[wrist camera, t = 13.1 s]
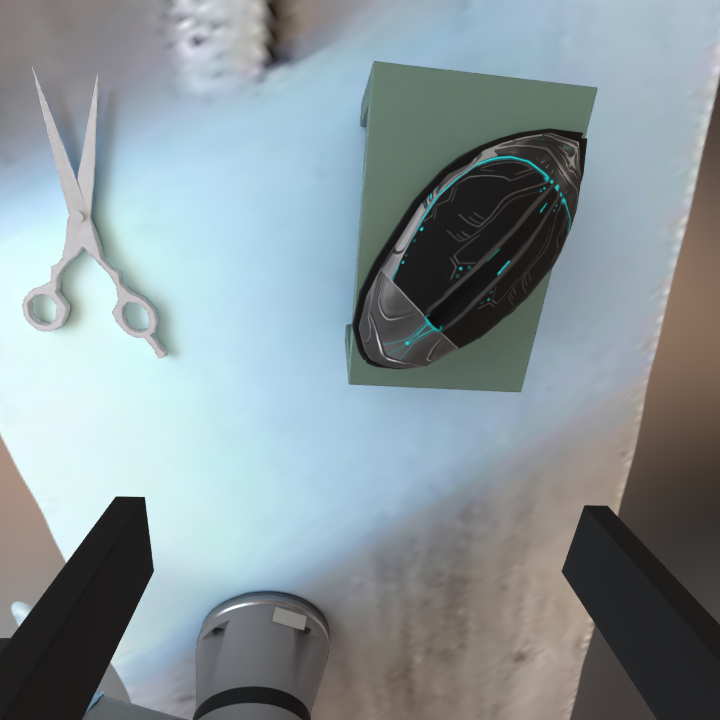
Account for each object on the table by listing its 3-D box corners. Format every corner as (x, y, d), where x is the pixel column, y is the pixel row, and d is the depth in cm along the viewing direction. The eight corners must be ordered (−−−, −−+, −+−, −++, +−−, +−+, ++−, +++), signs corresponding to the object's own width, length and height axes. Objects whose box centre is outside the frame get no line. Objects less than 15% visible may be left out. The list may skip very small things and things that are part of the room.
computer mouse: (618, 197, 23) (703, 195, 18) (407, 388, 27) (425, 435, 22) (531, 69, 21) (600, 24, 15) (311, 301, 24) (305, 330, 19)
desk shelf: (477, 348, 36) (521, 392, 28) (344, 341, 35) (348, 384, 27) (523, 119, 29) (598, 87, 21) (361, 102, 28) (373, 60, 20)
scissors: (29, 347, 33) (-29, 51, 25) (36, 344, 33) (-19, 56, 26) (164, 358, 34) (147, 79, 26) (168, 355, 34) (152, 82, 27)
